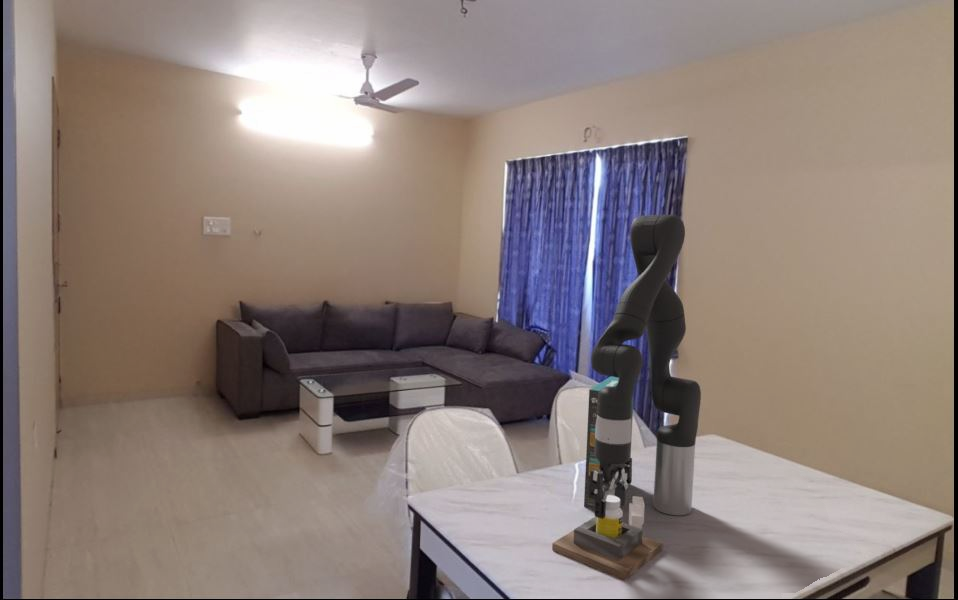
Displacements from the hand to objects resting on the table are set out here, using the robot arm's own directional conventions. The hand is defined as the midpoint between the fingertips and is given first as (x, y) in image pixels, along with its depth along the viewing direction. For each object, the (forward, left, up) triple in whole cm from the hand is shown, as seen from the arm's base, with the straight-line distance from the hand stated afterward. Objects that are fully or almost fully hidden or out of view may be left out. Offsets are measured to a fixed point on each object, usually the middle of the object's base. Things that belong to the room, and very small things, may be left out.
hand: (609, 510), depth 126 cm
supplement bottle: (0, 0, -7) cm, 7 cm away
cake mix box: (-27, -15, -9) cm, 32 cm away
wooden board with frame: (0, 0, -9) cm, 9 cm away
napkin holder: (-16, -1, -9) cm, 18 cm away
